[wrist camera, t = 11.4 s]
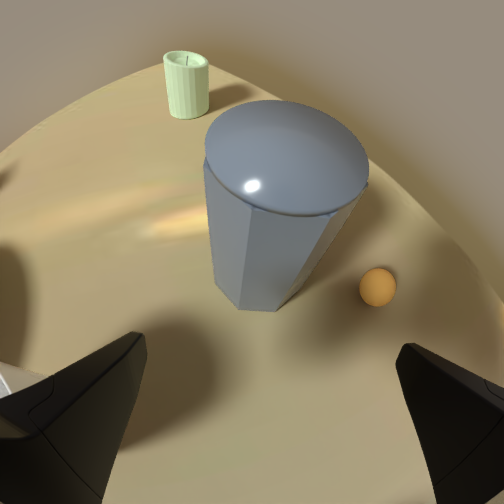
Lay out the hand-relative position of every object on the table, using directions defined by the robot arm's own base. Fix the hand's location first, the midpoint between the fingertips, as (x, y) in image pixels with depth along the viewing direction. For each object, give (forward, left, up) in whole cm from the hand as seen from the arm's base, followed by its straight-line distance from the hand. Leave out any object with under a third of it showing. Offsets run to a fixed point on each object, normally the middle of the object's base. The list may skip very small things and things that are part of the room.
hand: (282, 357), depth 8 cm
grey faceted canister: (+6, -4, -11) cm, 13 cm away
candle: (+29, -8, -11) cm, 32 cm away
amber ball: (0, -11, -11) cm, 15 cm away
